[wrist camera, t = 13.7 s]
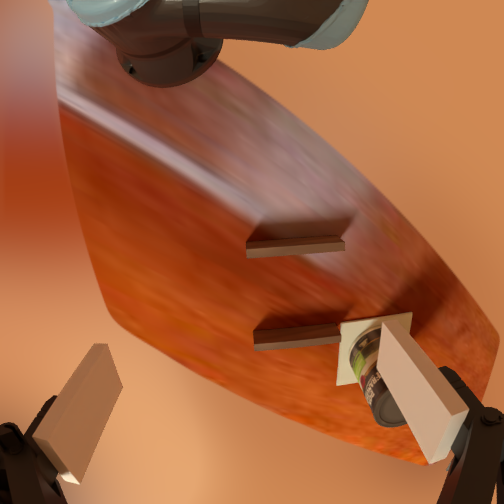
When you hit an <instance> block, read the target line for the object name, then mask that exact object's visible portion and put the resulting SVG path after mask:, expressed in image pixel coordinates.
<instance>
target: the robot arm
mask: <svg viewBox="0 0 504 504" xmlns="http://www.w3.org/2000/svg"><path fill="white" fill-rule="evenodd" d="M66 1H67V4H68V6H69V7H70V8H71V10H72V11H73V12H74V13H75V14H77V16H78V18H79V19H80V21H81V22H82V23H83V24H85V25H87V26H89V27H91V28H92V29H93V30H95V31H96V32H97V33H99V34H100V35H101V36H102V37H104V38H105V39H106V40H108V41H109V42H110V43H111V44H113V45H114V46H115V47H116V53H117V57H118V60H119V62H120V64H121V66H122V68H123V69H124V70H125V71H126V72H127V73H128V74H129V75H130V76H131V77H133V78H134V79H135V80H137V81H138V82H140V83H142V84H145V85H148V86H152V87H159V88H166V87H174V86H178V85H182V84H185V83H187V82H190V81H192V80H194V79H195V78H197V77H199V76H200V75H201V74H203V73H204V72H205V71H206V70H207V69H208V68H209V67H210V66H211V65H212V64H213V63H214V61H215V60H216V58H217V57H218V55H219V53H220V51H221V48H222V44H223V39H236V40H248V41H258V42H267V43H275V44H283V45H284V46H286V47H289V48H294V47H295V48H298V47H304V48H311V49H318V50H326V49H331V48H334V47H337V46H338V45H340V44H341V43H343V42H344V41H345V40H346V39H347V38H348V37H349V36H350V35H351V33H352V32H353V31H354V29H355V28H356V26H357V24H358V23H359V21H360V19H361V17H362V15H363V13H364V11H365V9H366V6H367V4H368V1H369V0H66ZM377 370H378V371H379V373H380V375H381V377H382V378H383V380H384V382H385V384H386V385H387V387H388V389H389V391H390V392H391V394H392V396H393V398H394V400H395V401H396V403H397V405H398V407H399V409H400V410H401V412H402V414H403V416H404V418H405V420H406V421H407V423H408V425H409V427H410V429H411V431H412V432H413V434H414V436H415V438H416V440H417V442H418V444H419V446H420V448H421V449H422V451H423V453H424V455H425V457H426V459H427V461H428V463H429V464H431V463H434V462H436V461H439V460H442V459H444V458H446V457H447V455H448V453H449V451H450V449H451V450H452V451H453V453H454V454H455V456H454V458H453V459H452V461H451V463H450V464H449V466H448V468H447V469H446V471H448V474H447V477H446V480H445V483H444V485H443V488H442V491H441V494H440V496H439V499H438V501H437V504H491V501H492V497H493V493H494V489H495V484H497V485H496V486H497V504H504V414H502V412H500V411H499V410H498V409H495V408H492V407H484V406H483V405H482V403H481V402H480V401H479V400H478V398H477V397H476V396H475V395H474V394H473V392H472V391H471V390H470V389H469V387H468V386H466V384H465V383H464V381H463V380H461V378H460V377H459V376H458V374H457V373H456V372H455V371H453V370H452V369H450V368H448V367H447V366H444V367H440V368H437V367H436V366H435V364H434V363H433V362H432V361H431V360H430V358H429V357H428V356H427V355H426V353H425V352H424V351H423V350H422V349H421V347H420V346H419V345H418V344H417V343H416V341H415V340H414V339H413V338H412V337H411V335H410V334H409V333H408V332H407V331H406V330H405V328H404V327H403V326H402V325H401V324H400V323H399V321H398V320H397V319H395V320H389V321H384V322H382V330H381V338H380V346H379V354H378V361H377ZM122 388H123V386H122V383H121V381H120V378H119V376H118V373H117V370H116V367H115V364H114V362H113V359H112V356H111V353H110V350H109V347H108V344H94V345H93V346H92V347H91V349H90V350H89V352H88V353H87V355H86V356H85V357H84V359H83V360H82V362H81V363H80V364H79V366H78V367H77V369H76V370H75V372H74V373H73V374H72V376H71V378H70V379H69V380H68V382H67V383H66V385H65V386H64V388H63V389H62V391H61V392H60V394H59V395H58V396H55V395H54V396H53V397H51V398H50V399H49V400H48V401H46V402H45V404H44V405H43V407H42V408H41V411H39V413H38V414H37V417H35V419H34V420H33V422H32V423H31V425H30V426H29V428H28V429H27V431H26V433H25V434H24V435H23V434H22V433H21V431H20V429H19V428H18V426H17V425H15V424H14V423H10V422H8V423H3V424H1V425H0V504H68V503H67V501H66V499H65V496H64V494H63V491H62V489H61V486H60V484H59V482H58V480H57V479H56V477H57V474H58V472H59V474H60V475H61V476H62V477H63V478H64V480H66V481H68V482H72V483H76V484H81V482H82V479H83V477H84V474H85V472H86V469H87V467H88V465H89V462H90V460H91V457H92V455H93V453H94V450H95V448H96V446H97V443H98V441H99V439H100V436H101V434H102V432H103V430H104V427H105V425H106V423H107V421H108V419H109V416H110V414H111V412H112V410H113V407H114V405H115V403H116V401H117V399H118V397H119V394H120V392H121V390H122Z"/></svg>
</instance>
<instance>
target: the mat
mask: <svg viewBox="0 0 504 504" xmlns="http://www.w3.org/2000/svg"><path fill="white" fill-rule="evenodd" d="M412 314H413V313H412V312H407V313H401V314H395V315H388V316H382V317H375V318H368V319H361V320H353V321H346V322H341V331H340V333H341V335H342V339H341V342H340V346H339V360H338V371H337V382H336V384H337V386H338V385H345V384H351V383H357V382H358V380H357V378H356V376H355V374H354V372H353V370H352V368H351V367H350V365H349V362H348V353H349V350H350V347H351V345H352V344H353V342H354V341H355V340H356V338H357V337H358V336H359V335H361V334H362V333H363V332H365V331H366V330H368V329H370V328H373V327H377V326H382V322H384V321H389V320H395V319H397V320H398V321H399V323H400V324H401V325H402V326H403V327H404V328H405V330H406V331H407V332H408V333H410V327H411V321H412Z"/></svg>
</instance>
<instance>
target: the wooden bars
mask: <svg viewBox="0 0 504 504" xmlns="http://www.w3.org/2000/svg"><path fill="white" fill-rule="evenodd" d="M336 251H345V242H344V241H343V240H342V239H341V238H339V237H338V236H337V235H333V236H319V237H305V238H291V239H277V240H264V241H250V242H246V253H247V258H259V257H272V256H285V255H298V254H311V253H323V252H336ZM253 336H254V350H255V351H263V350H275V349H286V348H296V347H306V346H314V345H323V344H331V343H338V342H341V339H342V335H341V333H340V331H339V329H338V327H337V326H336V324H335V323H329V324H321V325H312V326H302V327H292V328H281V329H270V330H257V331H253Z"/></svg>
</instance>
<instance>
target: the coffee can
mask: <svg viewBox="0 0 504 504" xmlns="http://www.w3.org/2000/svg"><path fill="white" fill-rule="evenodd" d="M381 330H382V326H377V327H373V328H370V329H368V330H366V331H365V332H363V333H362V334H361V335H359V336H358V337H357V338H356V340H355V341H354V342H353V344H352V345H351V347H350V350H349V353H348V362H349V365H350V367H351V368H352V370H353V372H354V374H355V376H356V378H357V380H358V382H359V384H360V387H361V389H362V391H363V393H364V395H365V397H366V400H367V402H368V404H369V406H370V408H371V410H372V413H373V416H374V419H375V421H376V422H377V423H378V424H379V425H381V426H383V427H398V426H402V425H405V424H407V421H406V420H405V418H404V416H403V414H402V412H401V410H400V409H399V407H398V405H397V403H396V401H395V400H394V398H393V396H392V394H391V392H390V391H389V389H388V387H387V385H386V384H385V382H384V380H383V378H382V377H381V375H380V373H379V371H378V370H377V361H378V354H379V346H380V338H381Z"/></svg>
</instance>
